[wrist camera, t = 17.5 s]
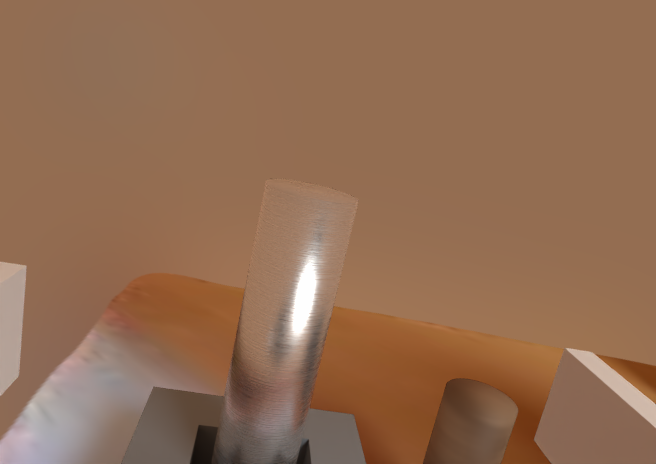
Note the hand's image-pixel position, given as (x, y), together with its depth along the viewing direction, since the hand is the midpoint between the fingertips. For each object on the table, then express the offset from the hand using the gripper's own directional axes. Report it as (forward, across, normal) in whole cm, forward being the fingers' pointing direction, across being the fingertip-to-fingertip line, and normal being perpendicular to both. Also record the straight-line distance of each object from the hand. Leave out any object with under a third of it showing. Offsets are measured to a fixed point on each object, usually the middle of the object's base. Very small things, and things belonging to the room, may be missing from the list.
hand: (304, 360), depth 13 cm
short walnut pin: (+13, +12, -18) cm, 25 cm away
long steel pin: (+10, 0, -18) cm, 20 cm away
